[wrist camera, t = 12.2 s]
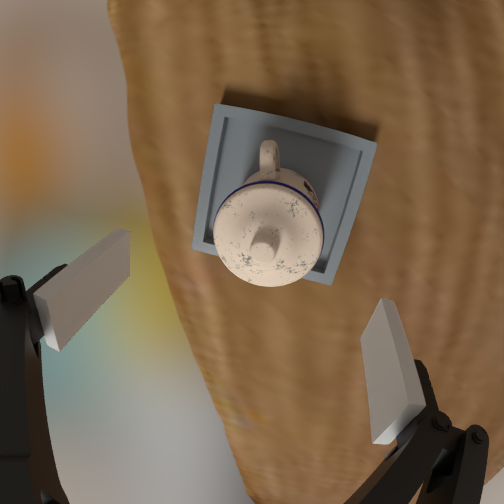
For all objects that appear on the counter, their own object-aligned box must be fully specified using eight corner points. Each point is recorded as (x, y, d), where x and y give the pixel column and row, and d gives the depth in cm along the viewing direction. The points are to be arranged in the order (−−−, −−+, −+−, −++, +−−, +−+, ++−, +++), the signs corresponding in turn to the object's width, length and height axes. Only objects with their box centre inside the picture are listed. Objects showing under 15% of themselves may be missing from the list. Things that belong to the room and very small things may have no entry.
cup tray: (220, 104, 29) (215, 103, 28) (373, 141, 28) (377, 143, 27) (197, 242, 37) (191, 248, 35) (329, 276, 36) (330, 285, 34)
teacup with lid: (319, 247, 34) (322, 308, 23) (238, 245, 35) (208, 303, 25) (320, 136, 29) (328, 146, 18) (230, 138, 30) (190, 151, 20)
